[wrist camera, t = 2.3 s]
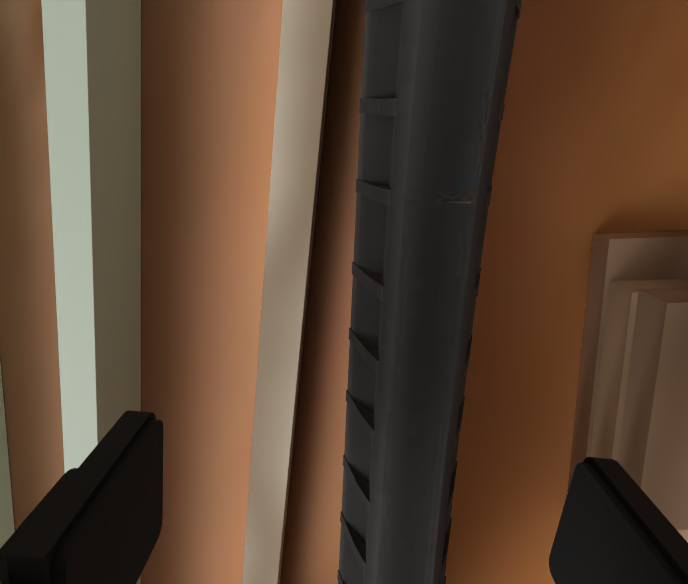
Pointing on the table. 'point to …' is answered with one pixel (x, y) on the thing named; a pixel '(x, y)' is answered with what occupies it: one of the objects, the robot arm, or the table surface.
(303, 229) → the rack
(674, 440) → the offcut stack
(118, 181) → the display holder
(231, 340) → the table surface
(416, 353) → the magazine
